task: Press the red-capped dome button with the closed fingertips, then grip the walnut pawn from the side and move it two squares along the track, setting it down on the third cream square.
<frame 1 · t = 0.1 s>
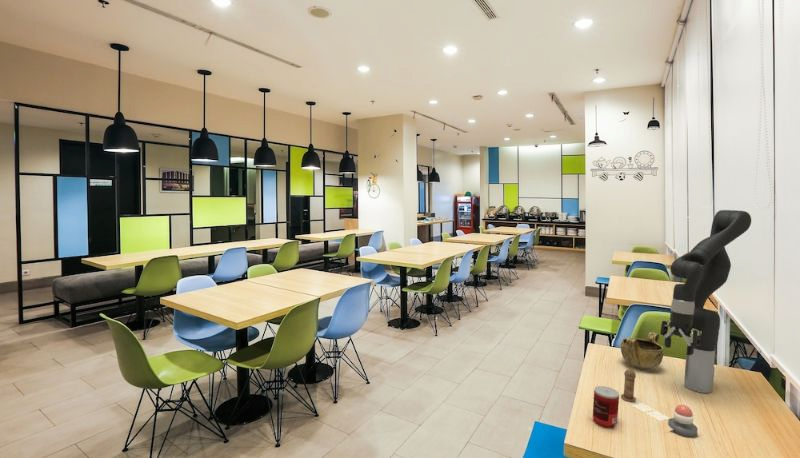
hand: (678, 351, 159), 17 cm above the table, tool pointing down, fingers open, 8 cm apart
dome housing: (682, 430, 134), on the table
pawn: (628, 399, 153), point 1 cm above the table, touching track
track: (642, 409, 147), on the table
dome plunger: (683, 412, 134), point 6 cm above the table, slide at 0.0 cm
ceramic bowl: (640, 367, 186), on the table
canned food: (604, 422, 139), on the table
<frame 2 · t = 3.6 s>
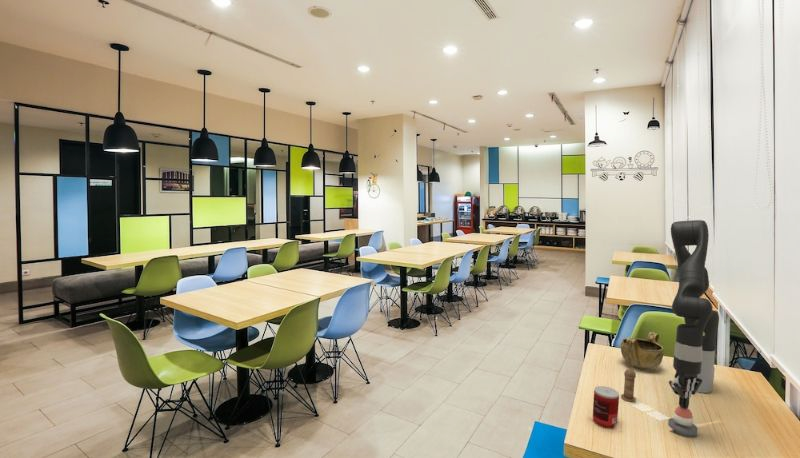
hand: (683, 407, 134), 8 cm above the table, tool pointing down, fingers closed
dome plunger: (683, 414, 134), point 6 cm above the table, slide at 0.5 cm, touching gripper
everything else where it was.
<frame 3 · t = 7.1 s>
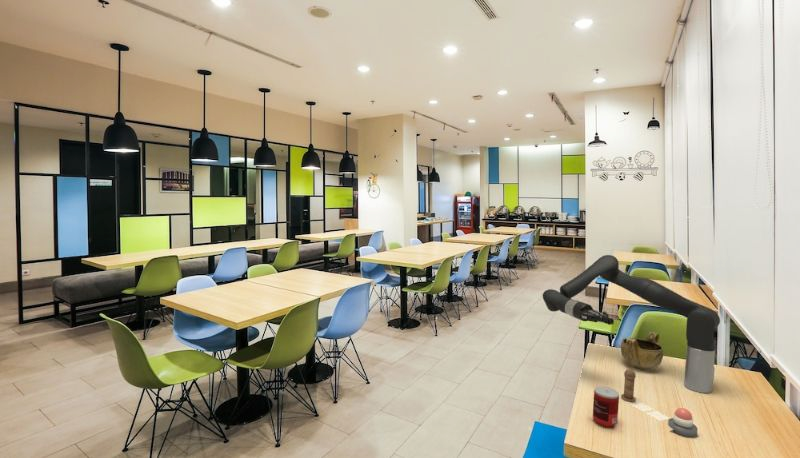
hand: (611, 322, 160), 28 cm above the table, tool horizontal, fingers closed
dome plunger: (683, 416, 134), point 5 cm above the table, slide at 1.1 cm
everything else where it was.
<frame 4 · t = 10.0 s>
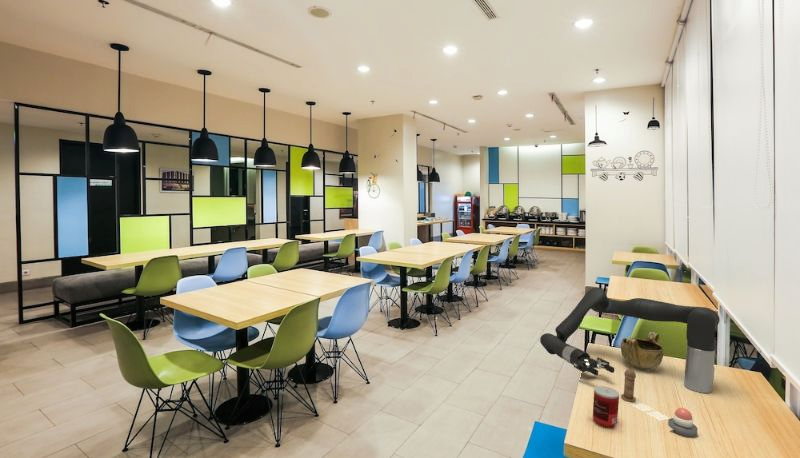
hand: (605, 371, 163), 7 cm above the table, tool horizontal, fingers open, 8 cm apart
nothing on the table moved.
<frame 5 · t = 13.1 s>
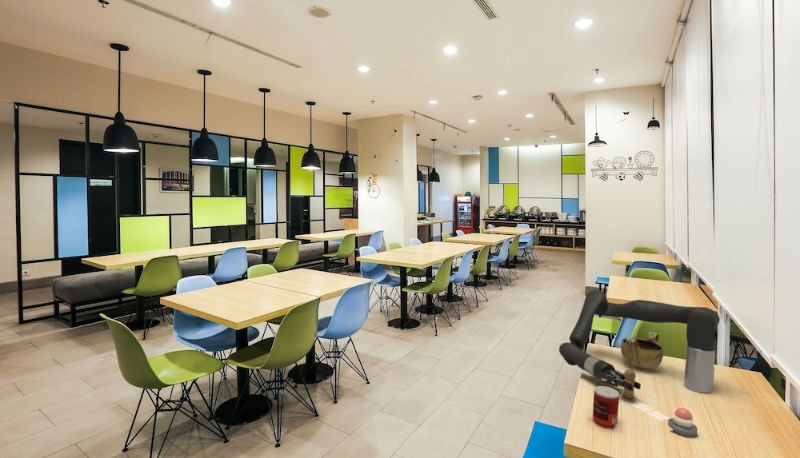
hand: (635, 387, 150), 7 cm above the table, tool horizontal, fingers closed on pawn, 3 cm apart
pawn: (628, 399, 153), point 1 cm above the table, touching gripper, track
everything else where it was.
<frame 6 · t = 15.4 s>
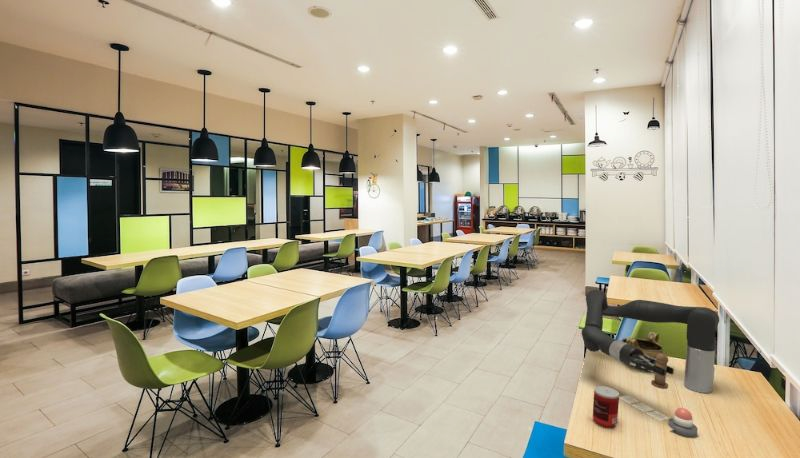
hand: (668, 372, 138), 18 cm above the table, tool horizontal, fingers closed on pawn, 3 cm apart
pawn: (659, 385, 141), point 12 cm above the table, touching gripper
everything else where it was.
when the fingers open (8 cm above the table, at t = 17.5 s): pawn drops 1 cm, resting on track.
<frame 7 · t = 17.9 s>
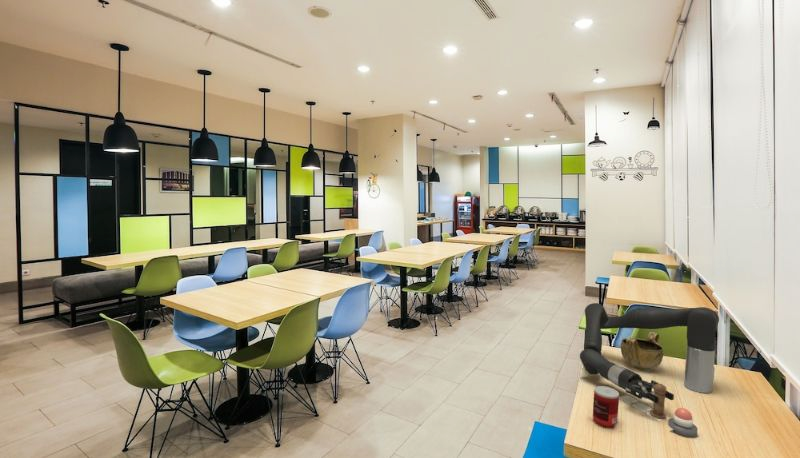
hand: (665, 399, 139), 8 cm above the table, tool horizontal, fingers open, 6 cm apart
pawn: (657, 415, 142), point 1 cm above the table, touching track
everything else where it was.
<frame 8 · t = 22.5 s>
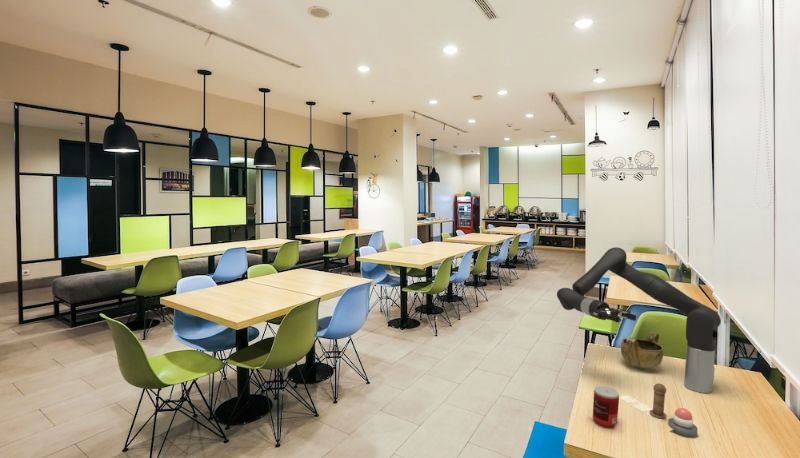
hand: (627, 319, 158), 30 cm above the table, tool horizontal, fingers open, 8 cm apart
nothing on the table moved.
at the end: pawn 0.0 cm from the target spot, point 1.0 cm above the table; pawn tilted 0°; dome plunger slide at 1.1 cm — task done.
